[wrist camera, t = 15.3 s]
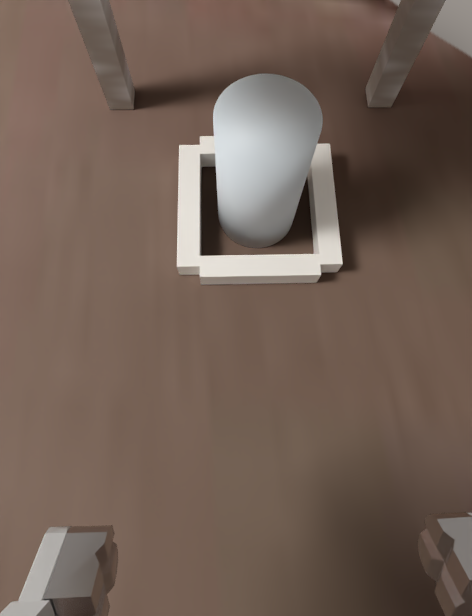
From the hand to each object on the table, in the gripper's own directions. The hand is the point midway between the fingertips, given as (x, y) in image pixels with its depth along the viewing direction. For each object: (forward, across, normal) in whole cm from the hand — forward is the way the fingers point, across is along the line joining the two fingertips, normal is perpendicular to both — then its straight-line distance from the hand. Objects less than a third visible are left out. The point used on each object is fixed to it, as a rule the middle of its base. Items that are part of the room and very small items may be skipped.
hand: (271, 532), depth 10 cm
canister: (+17, -1, -4) cm, 17 cm away
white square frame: (+17, -1, -4) cm, 17 cm away
